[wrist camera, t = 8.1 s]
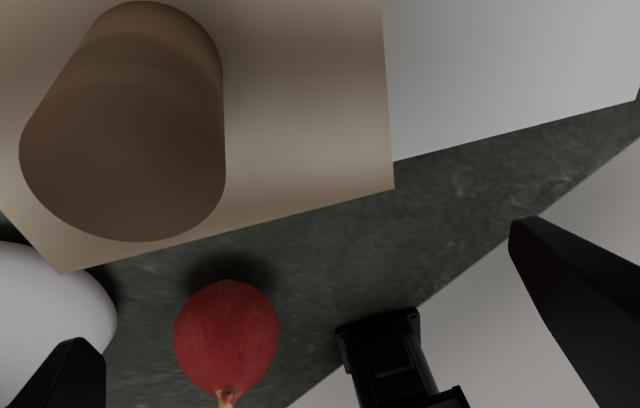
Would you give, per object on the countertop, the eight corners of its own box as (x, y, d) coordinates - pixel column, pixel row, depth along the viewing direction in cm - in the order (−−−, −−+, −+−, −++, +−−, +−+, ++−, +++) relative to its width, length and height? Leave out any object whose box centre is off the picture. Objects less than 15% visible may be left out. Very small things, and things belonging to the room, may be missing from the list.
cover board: (386, 173, 17) (448, 291, 13) (66, 255, 17) (12, 407, 12) (342, -334, 9) (484, -533, 4) (-314, -188, 8) (-959, -225, 4)
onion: (291, 279, 28) (311, 399, 22) (227, 322, 29) (230, 445, 23) (225, 235, 24) (229, 363, 18) (157, 286, 26) (140, 420, 20)
